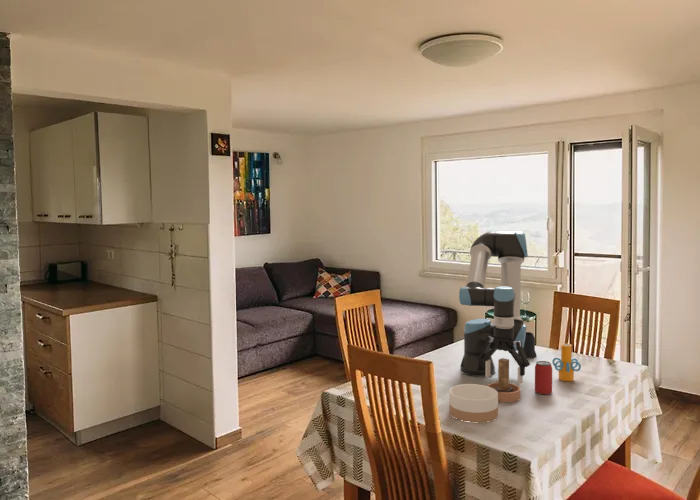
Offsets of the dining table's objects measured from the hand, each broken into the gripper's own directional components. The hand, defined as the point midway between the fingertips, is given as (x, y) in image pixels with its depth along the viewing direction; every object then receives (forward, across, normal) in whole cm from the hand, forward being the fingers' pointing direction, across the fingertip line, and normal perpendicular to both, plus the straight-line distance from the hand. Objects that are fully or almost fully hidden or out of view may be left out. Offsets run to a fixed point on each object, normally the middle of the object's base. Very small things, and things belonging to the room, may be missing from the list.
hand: (503, 380), depth 217 cm
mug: (+7, -18, +60) cm, 63 cm away
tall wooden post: (+6, 0, 0) cm, 6 cm away
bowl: (+7, 0, -23) cm, 24 cm away
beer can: (+7, +10, +14) cm, 18 cm away
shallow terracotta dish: (+7, 0, 0) cm, 7 cm away
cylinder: (+7, +11, +35) cm, 37 cm away
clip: (+7, 0, 0) cm, 7 cm away
